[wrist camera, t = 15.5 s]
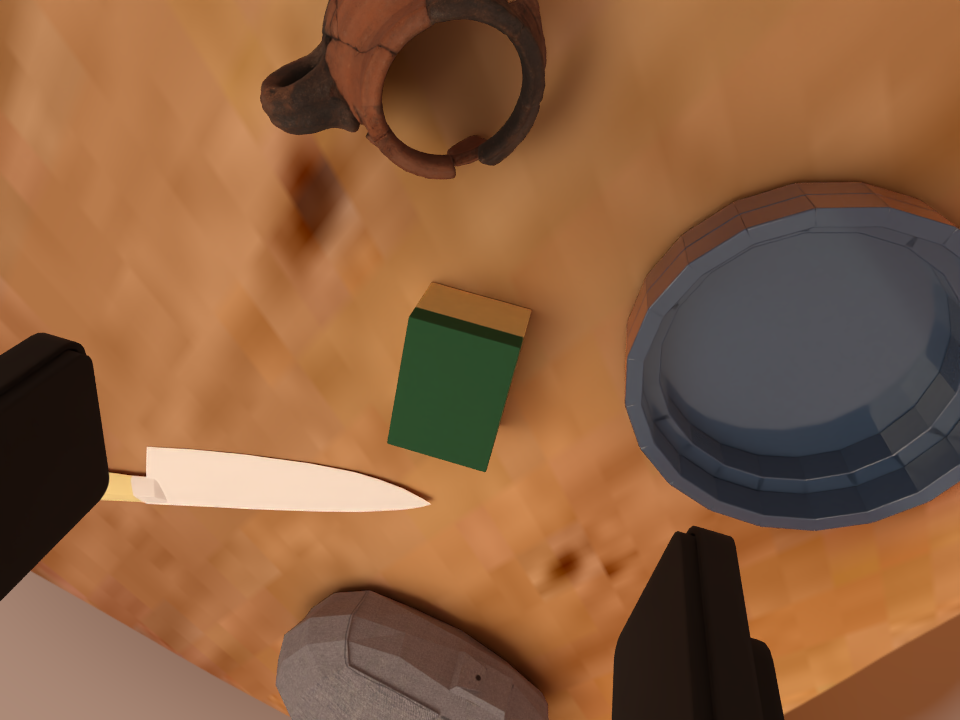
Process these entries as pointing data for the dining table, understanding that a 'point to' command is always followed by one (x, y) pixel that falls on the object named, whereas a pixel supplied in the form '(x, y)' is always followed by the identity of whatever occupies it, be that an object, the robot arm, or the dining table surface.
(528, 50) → the pottery mug
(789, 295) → the bowl
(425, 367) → the sponge
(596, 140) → the dining table surface
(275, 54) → the dining table surface
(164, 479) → the knife
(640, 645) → the robot arm
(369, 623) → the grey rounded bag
